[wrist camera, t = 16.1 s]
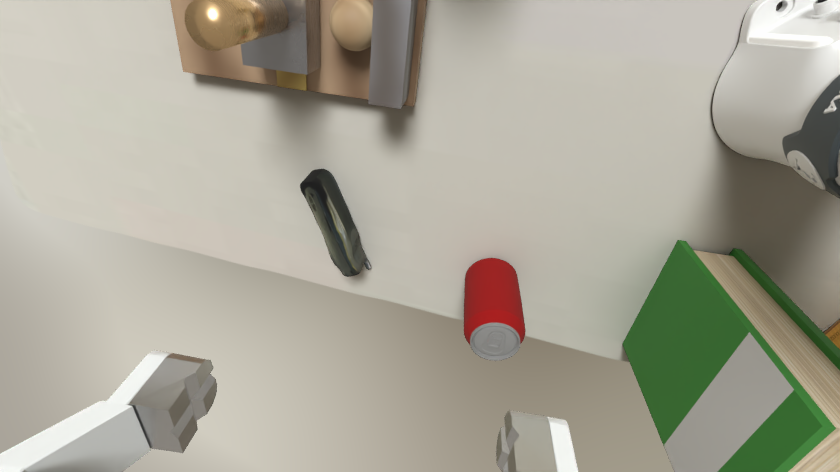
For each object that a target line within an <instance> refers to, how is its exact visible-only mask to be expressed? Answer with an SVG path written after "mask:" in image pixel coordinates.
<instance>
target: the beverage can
mask: <svg viewBox="0 0 840 472" xmlns="http://www.w3.org/2000/svg"><path fill="white" fill-rule="evenodd" d="M464 335H465V338H466V340H467V341H468V343H469V344H470V346H471V348H472V350H473V351H474V352H475V354H477V355H478V356H480V357H482V358H484V359H487V360H504V359H507V358H510V357H511V356H513V355H514V354H515V353H516V352H517V351H518V350H519V348H520V344H521V343H522V341H523V339H524V336H525V324H524V317H523V310H522V303H521V296H520V290H519V284H518V278H517V274H516V271H515V269H514V268H513V267H512V266H511V265H510V264H509V263H507V262H506V261H503V260H500V259H496V258H487V259H482V260H480V261H477V262H476V263H474V264H473V265H472V266H471V267H470V268H469V269H468V271H467V273H466V276H465V298H464Z"/></svg>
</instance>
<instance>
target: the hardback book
mask: <svg viewBox="0 0 840 472" xmlns="http://www.w3.org/2000/svg"><path fill="white" fill-rule="evenodd" d="M623 347H624V349H625V352H626V354H627V356H628V359H629V361H630V364H631V366H632V369H633V371H634V374H635V376H636V379H637V381H638V383H639V386H640V388H641V391H642V393H643V396H644V398H645V401H646V403H647V406H648V408H649V411H650V413H651V416H652V418H653V421H654V423H655V425H656V428H657V430H658V433H659V435H660V438H661V440H662V443H663V445H664V448H665V450H666V452H667V455H668V457H669V460H670V462H671V465H672V467H673V470H674V472H840V349H839V348H838V347H837V346H836V345H835V344H834V343H833V342H832V341H831V340H830V339H829V338H828V337H827V336H826V335H825V334H824V333H823V332H822V331H821V330H820V329H819V328H818V327H817V326H816V325H815V324H814V323H813V322H812V321H811V320H810V319H809V318H808V317H807V316H806V315H805V314H804V313H803V312H802V310H801V309H800V308H799V307H798V306H797V305H796V304H795V303H794V302H793V301H792V300H791V299H790V298H789V297H788V296H787V295H786V294H785V293H784V292H783V291H782V290H781V289H780V288H779V287H778V286H777V285H776V284H775V283H774V282H773V281H772V280H771V279H770V278H769V277H768V276H767V275H766V274H765V273H764V272H763V271H762V270H761V269H760V268H759V267H758V266H757V265H756V264H755V263H754V262H753V261H752V260H751V259H750V258H749V257H748V256H747V255H746V254H745V253H744V252H743V251H742V250H741V249H733V250H732V252H731V253H730V255H722V254H715V253H709V252H702V251H695V250H692V248H691V247H690V246H689V245H688V243H687V242H686V241H681V240H678V241H677V243H676V245H675V247H674V249H673V250H672V252H671V254H670V256H669V258H668V260H667V262H666V263H665V265H664V267H663V269H662V271H661V273H660V275H659V277H658V278H657V280H656V282H655V284H654V286H653V288H652V290H651V291H650V293H649V295H648V297H647V299H646V301H645V303H644V305H643V306H642V308H641V310H640V312H639V314H638V316H637V318H636V320H635V321H634V323H633V325H632V327H631V329H630V331H629V333H628V334H627V336H626V338H625V340H624V342H623Z"/></svg>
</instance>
